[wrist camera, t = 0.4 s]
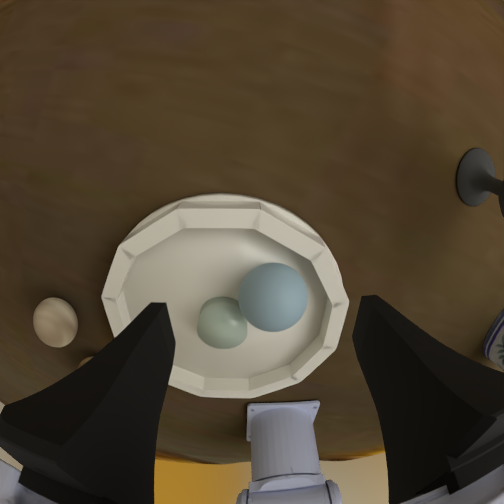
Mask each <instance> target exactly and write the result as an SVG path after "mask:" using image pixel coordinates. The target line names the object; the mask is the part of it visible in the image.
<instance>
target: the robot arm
mask: <svg viewBox="0 0 504 504" xmlns="http://www.w3.org/2000/svg"><path fill="white" fill-rule="evenodd" d="M352 338H353V342H354V347H355V351H356V354H357V358H358V361H359V364H360V366H361V369H362V371H363V374H364V377H365V379H366V382H367V384H368V387H369V389H370V392H371V395H372V397H373V400H374V403H375V406H376V409H377V412H378V416H379V421H380V425H381V430H382V435H383V440H384V446H385V452H386V461H387V469H388V486H389V504H504V373H503V372H500V371H497V370H494V369H492V368H489V367H486V366H484V365H482V364H479V363H477V362H475V361H473V360H471V359H469V358H467V357H465V356H463V355H461V354H459V353H457V352H455V351H454V350H452V349H450V348H449V347H447V346H445V345H444V344H442V343H440V342H439V341H437V340H436V339H434V338H433V337H432V336H430V335H429V334H427V333H426V332H424V331H423V330H422V329H420V328H419V327H418V326H416V325H415V324H414V323H412V322H411V321H410V320H408V319H407V318H406V317H405V316H403V315H402V314H401V313H400V312H398V311H397V310H396V309H394V308H393V307H392V306H391V305H389V304H388V303H387V302H385V301H384V300H383V299H381V298H380V297H379V296H377V295H369V296H362V297H361V302H360V306H359V310H358V315H357V319H356V323H355V327H354V331H353V335H352ZM175 347H176V341H175V337H174V333H173V329H172V325H171V321H170V316H169V312H168V308H167V303H166V302H151V303H150V304H149V305H147V306H146V307H145V308H144V309H143V310H142V311H141V312H140V313H139V314H138V315H137V316H136V318H135V319H134V320H133V321H132V322H131V323H130V324H129V325H128V326H127V327H126V328H125V329H124V330H123V331H122V332H121V333H119V334H118V335H117V336H116V337H115V338H114V339H113V340H112V341H111V342H110V343H109V344H108V345H106V346H105V347H104V348H103V349H102V350H101V351H100V352H99V353H97V354H96V355H95V356H94V357H93V358H91V359H90V360H89V361H88V362H86V363H85V364H84V365H82V366H81V367H80V368H78V369H77V370H75V371H74V372H72V373H71V374H69V375H67V376H66V377H64V378H63V379H61V380H60V381H58V382H56V383H55V384H53V385H51V386H49V387H47V388H46V389H44V390H42V391H40V392H38V393H36V394H33V395H31V396H29V397H27V398H24V399H22V400H19V401H16V402H14V403H11V404H8V405H5V406H4V408H3V410H2V412H1V414H0V447H1V448H2V449H4V450H5V451H6V452H7V453H8V454H9V455H11V456H12V457H13V458H14V459H15V460H17V461H18V462H19V463H20V464H22V465H23V469H22V471H19V470H18V469H16V468H15V467H13V466H12V465H10V464H8V463H6V462H5V461H3V460H1V459H0V504H154V464H155V451H156V440H157V431H158V423H159V418H160V413H161V409H162V405H163V402H164V398H165V394H166V390H167V386H168V383H169V379H170V375H171V371H172V367H173V361H174V354H175ZM319 406H320V402H319V401H317V400H316V401H302V402H285V403H250V404H248V405H247V441H251V466H252V482H249V489H244V490H242V492H241V493H240V494H239V495H238V497H237V502H236V504H342V499H341V494H340V490H339V488H338V485H337V484H336V483H334V482H333V481H332V480H326V481H325V477H324V474H321V471H320V464H319V458H318V452H317V446H316V440H315V434H314V428H313V421H314V419H315V416H316V414H317V411H318V409H319Z"/></svg>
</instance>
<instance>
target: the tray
mask: <svg viewBox="0 0 504 504" xmlns="http://www.w3.org/2000/svg"><path fill="white" fill-rule="evenodd" d="M273 262H274V263H281V264H285V265H287V266H290V267H291V268H293V269H294V270H295V271H297V272H298V273H299V274H300V276H301V277H302V278H303V280H304V282H305V284H306V287H307V291H308V303H307V307H306V310H305V312H304V314H303V316H302V317H301V319H300V320H299V321H298V322H297V323H296V324H295V325H293V326H292V327H290V328H288V329H286V330H283V331H279V332H267V331H262V330H260V329H258V328H256V327H254V326H253V325H251V324H250V323H249V322H248V321H247V320H246V319H245V317H244V316H243V314H242V312H241V310H240V307H239V301H238V293H239V288H240V285H241V283H242V281H243V279H244V278H245V276H246V275H247V274H248V273H249V272H250V271H251V270H252V269H254V268H255V267H257V266H259V265H262V264H265V263H273ZM102 301H103V304H104V307H105V311H106V314H107V317H108V320H109V323H110V326H111V329H112V332H113V335H114V337H116V336H117V335H118V334H119V333H121V332H122V331H123V330H124V329H125V328H126V327H127V326H128V325H129V324H130V323H131V322H132V321H133V320H134V319H135V318H136V316H137V315H138V314H139V313H140V312H141V311H142V310H143V309H144V308H145V307H146V306H147V305H149V304H150V303H151V302H166V303H167V308H168V312H169V316H170V321H171V325H172V329H173V333H174V337H175V341H176V347H175V354H174V361H173V367H172V371H171V375H170V379H169V383H168V384H169V385H171V386H174V387H176V388H179V389H181V390H184V391H187V392H189V393H192V394H195V395H198V396H200V397H217V398H255V397H258V396H261V395H264V394H267V393H270V392H273V391H276V390H279V389H282V388H285V387H288V386H291V385H294V384H296V383H299V382H301V381H302V380H303V379H304V378H306V377H307V376H308V375H309V374H310V373H311V372H312V371H313V370H314V369H316V368H317V367H318V366H319V365H320V364H321V363H322V362H323V361H324V360H325V359H326V358H327V357H328V356H329V355H331V354H332V353H333V352H334V351H335V350H336V348H337V345H338V342H339V338H340V335H341V331H342V328H343V324H344V320H345V317H346V313H347V309H348V305H349V299H348V297H347V295H346V292H345V290H344V287H343V284H342V277H341V274H340V271H339V268H338V265H337V263H336V261H335V259H334V257H333V255H332V253H331V252H330V250H329V248H328V246H327V245H326V243H325V242H324V241H323V239H322V238H321V237H320V236H319V234H318V233H317V232H316V231H315V230H314V229H313V228H312V227H311V226H310V225H309V224H308V223H307V222H305V221H304V220H302V219H301V218H300V217H298V216H297V215H295V214H294V213H293V212H291V211H289V210H287V209H285V208H283V207H281V206H279V205H277V204H275V203H272V202H269V201H266V200H264V199H261V198H257V197H253V196H248V195H243V194H234V193H208V194H199V195H194V196H190V197H185V198H182V199H179V200H176V201H174V202H171V203H168V204H166V205H164V206H163V207H161V208H159V209H157V210H155V211H153V212H152V213H151V214H149V215H148V216H147V217H145V218H144V219H143V220H141V221H140V222H139V223H138V225H137V226H136V227H135V228H134V229H133V230H132V231H131V232H130V233H129V234H128V235H127V236H126V238H125V239H124V240H123V241H122V242H121V244H120V245H119V246H118V249H117V251H116V254H115V257H114V260H113V263H112V265H111V268H110V271H109V274H108V277H107V280H106V283H105V286H104V290H103V293H102Z"/></svg>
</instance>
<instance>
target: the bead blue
mask: <svg viewBox="0 0 504 504" xmlns="http://www.w3.org/2000/svg"><path fill="white" fill-rule="evenodd" d="M238 301H239V307H240V310H241V312H242V314H243V316H244V317H245V319H246V320H247V321H248V322H249V323H250V324H251V325H253V326H254V327H256V328H258V329H260V330H262V331H267V332H279V331H283V330H286V329H288V328H290V327H292V326H293V325H295V324H296V323H297V322H298V321H299V320H300V319H301V317H302V316H303V314H304V312H305V310H306V307H307V303H308V291H307V287H306V284H305V282H304V280H303V278H302V277H301V276H300V274H299V273H298V272H297V271H295V270H294V269H293V268H291V267H290V266H287V265H285V264H281V263H274V262H273V263H265V264H262V265H259V266H257V267H255V268H254V269H252V270H251V271H250V272H249V273H248V274H247V275H246V276H245V278H244V279H243V281H242V283H241V285H240V288H239V293H238Z"/></svg>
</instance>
